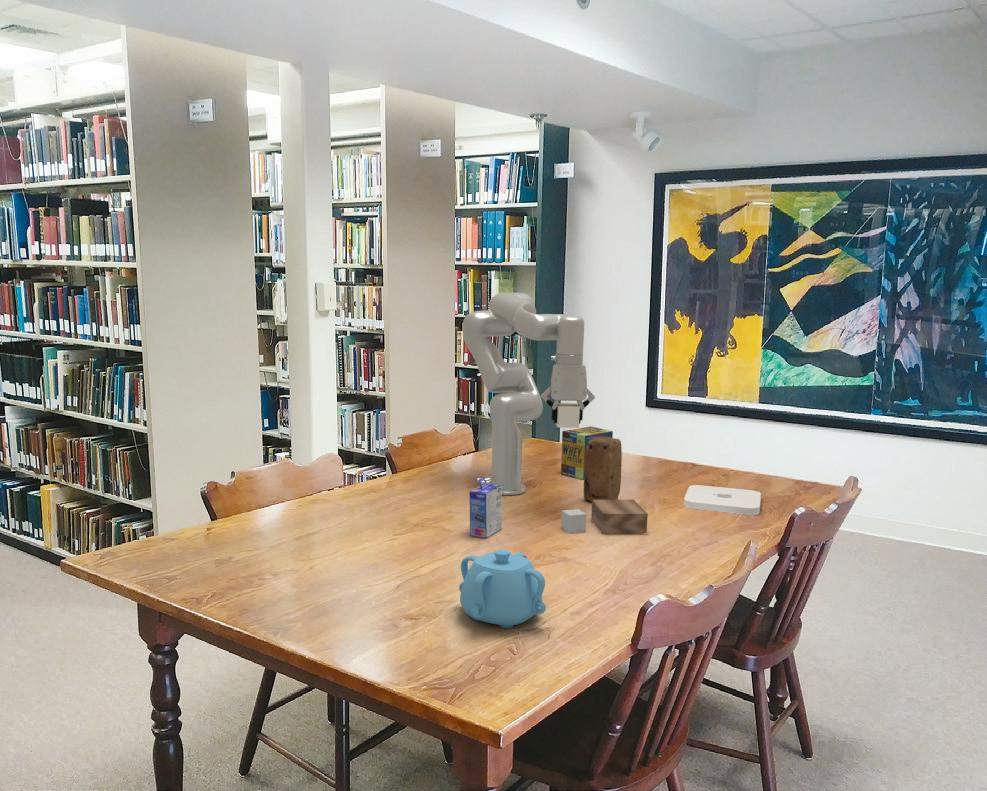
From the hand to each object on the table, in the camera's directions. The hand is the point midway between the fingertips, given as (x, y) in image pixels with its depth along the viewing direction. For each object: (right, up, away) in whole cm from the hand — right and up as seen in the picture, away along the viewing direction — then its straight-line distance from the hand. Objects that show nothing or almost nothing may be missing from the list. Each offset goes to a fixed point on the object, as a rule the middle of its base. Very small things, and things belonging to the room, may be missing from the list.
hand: (566, 422), depth 235 cm
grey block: (+1, -29, -12) cm, 31 cm away
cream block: (0, -1, 0) cm, 1 cm away
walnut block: (+13, -29, -8) cm, 33 cm away
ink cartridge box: (-23, -29, -16) cm, 40 cm away
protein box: (+11, -20, +52) cm, 57 cm away
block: (+12, -25, +16) cm, 32 cm away
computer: (+50, -26, +18) cm, 59 cm away
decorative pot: (-20, -37, -70) cm, 82 cm away
